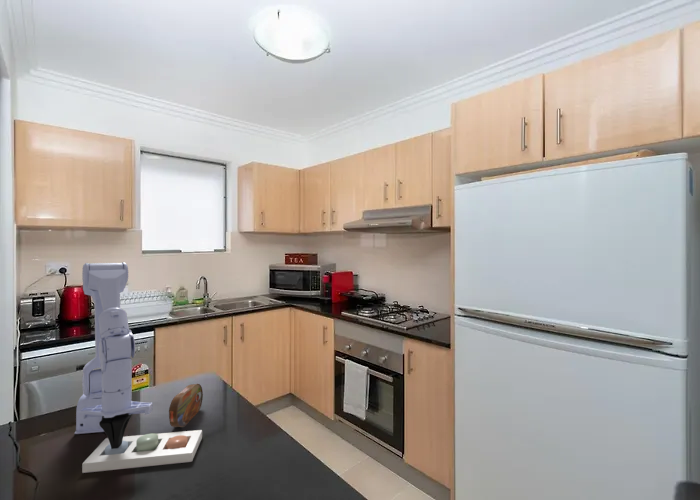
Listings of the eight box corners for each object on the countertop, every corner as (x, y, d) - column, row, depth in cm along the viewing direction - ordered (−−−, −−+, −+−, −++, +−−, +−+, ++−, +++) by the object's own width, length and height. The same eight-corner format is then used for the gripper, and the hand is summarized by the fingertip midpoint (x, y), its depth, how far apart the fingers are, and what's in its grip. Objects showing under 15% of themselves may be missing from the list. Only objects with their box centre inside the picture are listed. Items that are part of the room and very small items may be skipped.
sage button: (133, 455, 78) (133, 444, 78) (140, 444, 83) (140, 434, 83) (154, 453, 79) (154, 442, 79) (160, 442, 84) (160, 432, 84)
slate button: (101, 463, 77) (101, 452, 77) (110, 451, 81) (110, 441, 81) (122, 461, 78) (122, 450, 78) (131, 449, 82) (131, 439, 82)
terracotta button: (164, 456, 80) (164, 446, 80) (170, 446, 84) (170, 436, 84) (184, 454, 80) (184, 444, 80) (189, 444, 85) (189, 434, 85)
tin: (178, 433, 90) (178, 401, 90) (166, 433, 90) (166, 401, 90) (203, 406, 105) (203, 379, 105) (193, 406, 105) (193, 379, 105)
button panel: (82, 472, 74) (82, 463, 74) (105, 446, 84) (105, 438, 84) (192, 461, 78) (192, 452, 78) (202, 437, 88) (202, 429, 88)
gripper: (70, 397, 74) (70, 460, 74) (144, 392, 77) (144, 453, 77) (88, 384, 81) (88, 442, 81) (155, 380, 84) (155, 436, 84)
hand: (116, 446), depth 80 cm, fingers closed, pressing on slate button
